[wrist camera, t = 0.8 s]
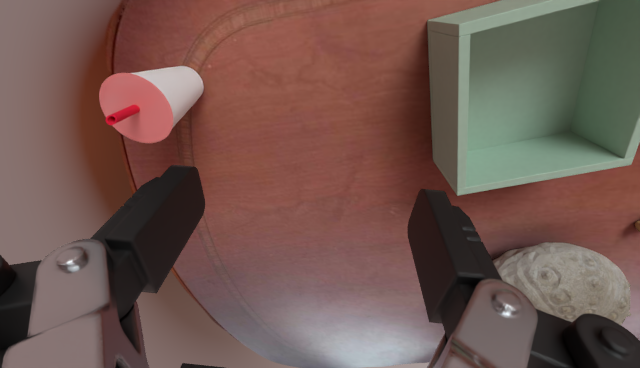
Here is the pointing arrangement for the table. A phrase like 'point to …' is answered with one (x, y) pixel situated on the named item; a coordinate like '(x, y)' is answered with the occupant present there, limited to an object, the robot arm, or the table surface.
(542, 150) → the bin
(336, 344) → the table surface
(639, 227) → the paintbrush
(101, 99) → the cup
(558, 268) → the decorative shell
